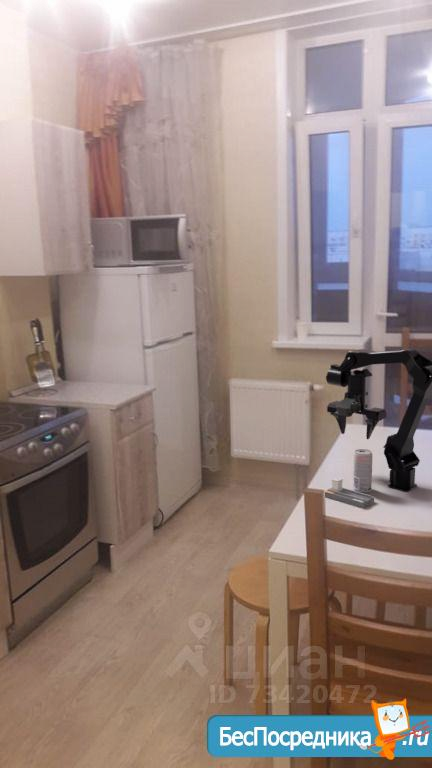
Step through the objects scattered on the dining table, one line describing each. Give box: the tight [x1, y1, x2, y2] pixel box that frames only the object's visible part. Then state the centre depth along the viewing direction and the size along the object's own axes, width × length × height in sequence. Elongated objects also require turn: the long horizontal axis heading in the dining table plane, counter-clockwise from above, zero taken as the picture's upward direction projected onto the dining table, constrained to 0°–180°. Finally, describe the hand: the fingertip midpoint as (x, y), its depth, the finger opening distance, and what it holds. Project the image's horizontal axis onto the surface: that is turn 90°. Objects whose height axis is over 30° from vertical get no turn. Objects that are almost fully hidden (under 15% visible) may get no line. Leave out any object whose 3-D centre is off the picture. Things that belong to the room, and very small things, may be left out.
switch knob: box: [331, 477, 344, 492], centre depth 179 cm, size 2×2×4 cm
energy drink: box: [352, 448, 373, 494], centre depth 183 cm, size 5×5×12 cm
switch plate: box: [324, 486, 375, 509], centre depth 177 cm, size 13×6×2 cm, turn 46°
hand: (355, 436), depth 197 cm, fingers open, 9 cm apart
